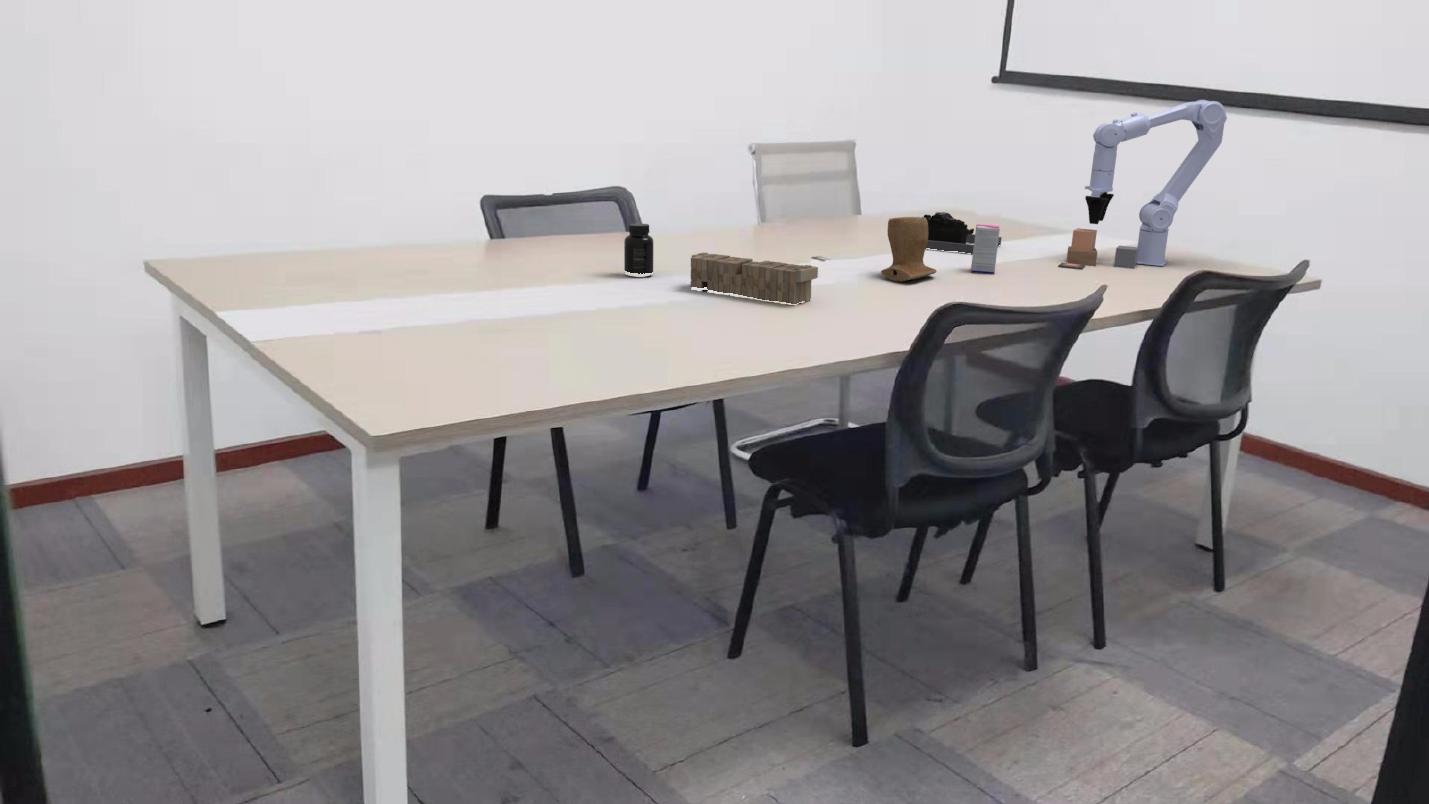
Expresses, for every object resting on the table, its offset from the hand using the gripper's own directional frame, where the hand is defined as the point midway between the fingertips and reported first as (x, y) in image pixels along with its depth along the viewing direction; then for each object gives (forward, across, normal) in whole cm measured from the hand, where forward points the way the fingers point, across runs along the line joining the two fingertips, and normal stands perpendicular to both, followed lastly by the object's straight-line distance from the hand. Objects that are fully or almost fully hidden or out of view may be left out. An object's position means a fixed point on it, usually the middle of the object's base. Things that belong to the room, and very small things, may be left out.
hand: (1096, 222), depth 311 cm
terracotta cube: (+7, +5, -2) cm, 9 cm away
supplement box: (+11, +34, -21) cm, 41 cm away
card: (+10, +13, -3) cm, 17 cm away
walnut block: (+11, +5, -2) cm, 12 cm away
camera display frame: (+11, 0, -39) cm, 40 cm away
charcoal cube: (+10, +3, +9) cm, 14 cm away
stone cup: (+11, +54, -35) cm, 65 cm away
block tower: (+11, +94, -58) cm, 111 cm away
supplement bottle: (+11, +89, -89) cm, 126 cm away
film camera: (+11, +2, -40) cm, 41 cm away
